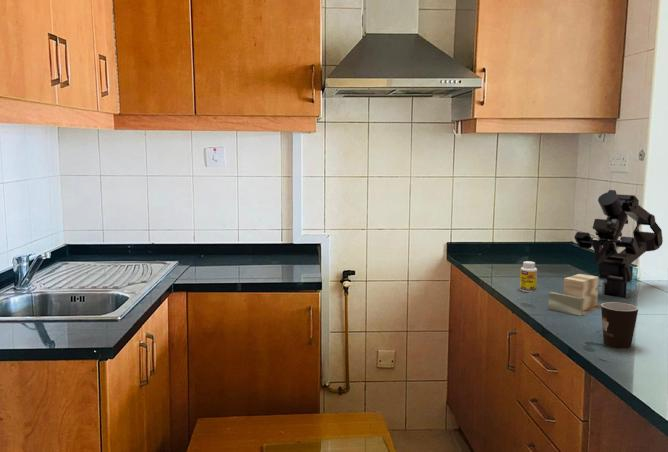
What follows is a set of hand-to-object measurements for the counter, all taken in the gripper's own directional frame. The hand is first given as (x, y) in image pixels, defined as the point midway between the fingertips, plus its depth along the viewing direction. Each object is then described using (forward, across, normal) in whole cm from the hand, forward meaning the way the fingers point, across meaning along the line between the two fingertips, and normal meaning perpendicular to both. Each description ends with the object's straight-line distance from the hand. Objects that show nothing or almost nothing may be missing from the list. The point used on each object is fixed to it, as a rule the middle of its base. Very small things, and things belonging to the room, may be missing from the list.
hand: (596, 263), depth 192 cm
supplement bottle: (+8, -24, +11) cm, 28 cm away
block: (+15, 0, +2) cm, 15 cm away
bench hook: (+18, 0, +2) cm, 18 cm away
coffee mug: (+32, +21, -12) cm, 40 cm away
